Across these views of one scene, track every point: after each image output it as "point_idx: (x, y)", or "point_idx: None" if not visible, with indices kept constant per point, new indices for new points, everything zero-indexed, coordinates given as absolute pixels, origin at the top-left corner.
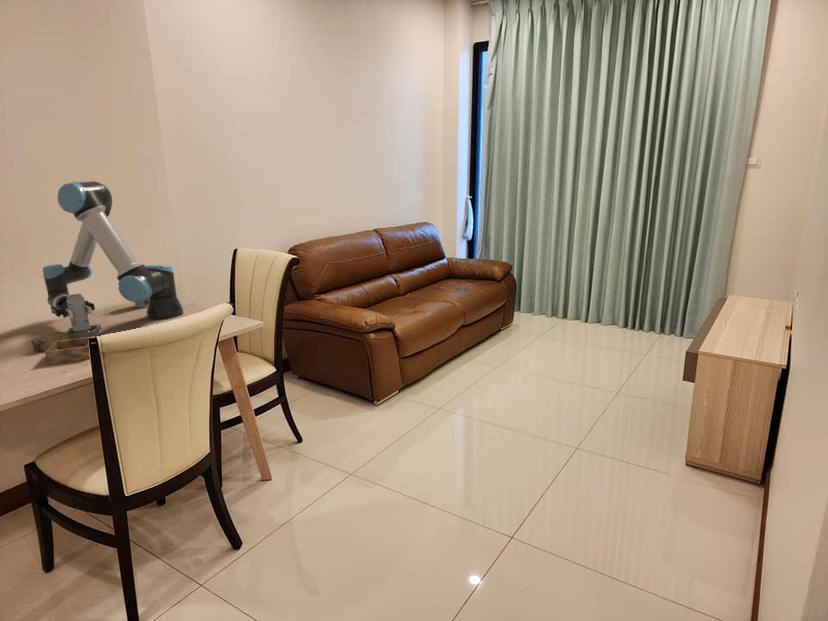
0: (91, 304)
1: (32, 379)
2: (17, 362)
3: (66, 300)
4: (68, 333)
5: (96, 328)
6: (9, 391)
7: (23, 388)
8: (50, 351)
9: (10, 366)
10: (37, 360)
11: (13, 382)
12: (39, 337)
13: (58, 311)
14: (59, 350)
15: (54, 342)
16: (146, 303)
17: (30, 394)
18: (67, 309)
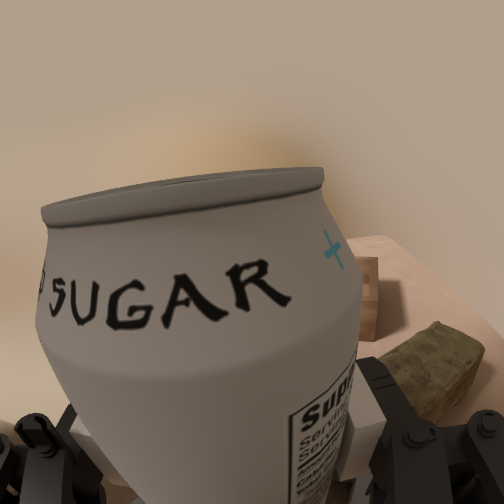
0: (10, 442)
1: (380, 257)
2: (460, 317)
3: (354, 258)
4: (350, 501)
5: None
6: (396, 245)
7: (381, 246)
8: (365, 257)
9: (460, 303)
10: (413, 313)
11: (406, 257)
12: (467, 357)
13: (470, 424)
14: None
15: (376, 293)
16: None
17: (365, 237)
18: (353, 391)
